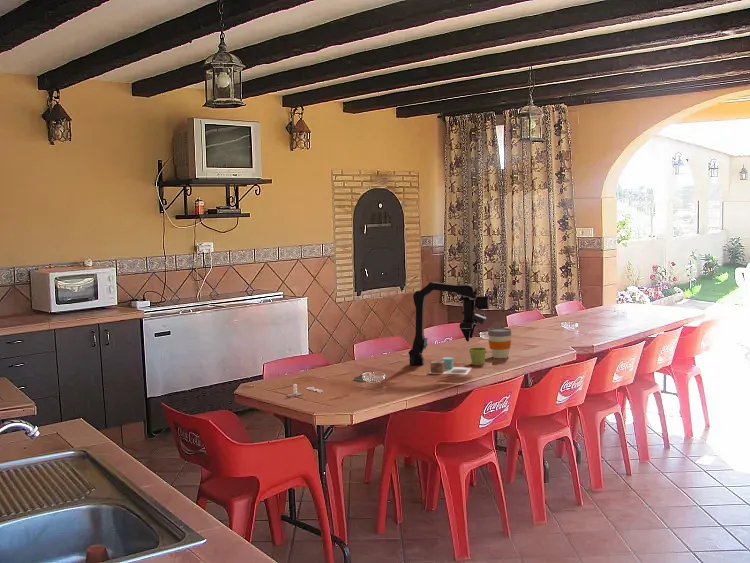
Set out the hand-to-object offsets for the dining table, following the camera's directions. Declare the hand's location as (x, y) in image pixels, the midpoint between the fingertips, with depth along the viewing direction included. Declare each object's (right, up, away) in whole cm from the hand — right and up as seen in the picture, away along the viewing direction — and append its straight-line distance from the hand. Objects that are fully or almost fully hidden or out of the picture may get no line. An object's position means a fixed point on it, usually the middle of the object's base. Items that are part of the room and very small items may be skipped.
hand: (469, 339), depth 386 cm
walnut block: (-17, -15, -9) cm, 24 cm away
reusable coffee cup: (+20, -12, +27) cm, 35 cm away
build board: (-10, -16, -7) cm, 20 cm away
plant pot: (+5, -14, +7) cm, 17 cm away
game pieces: (-70, -21, -29) cm, 79 cm away
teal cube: (-11, -14, -1) cm, 18 cm away
